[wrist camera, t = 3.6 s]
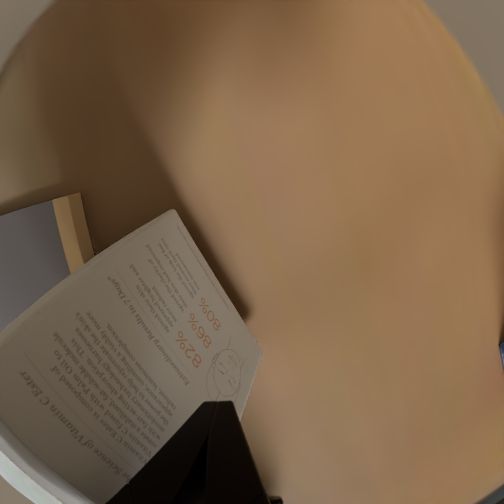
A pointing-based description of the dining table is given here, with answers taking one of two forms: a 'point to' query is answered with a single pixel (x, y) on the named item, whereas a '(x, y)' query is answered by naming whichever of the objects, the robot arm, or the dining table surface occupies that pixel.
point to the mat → (40, 251)
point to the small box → (119, 363)
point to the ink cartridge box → (502, 352)
